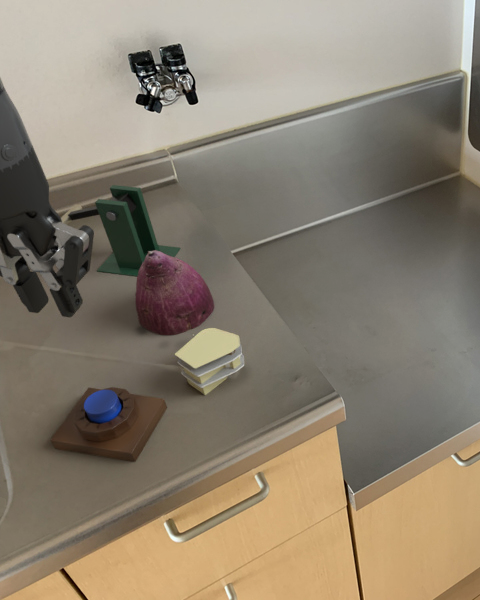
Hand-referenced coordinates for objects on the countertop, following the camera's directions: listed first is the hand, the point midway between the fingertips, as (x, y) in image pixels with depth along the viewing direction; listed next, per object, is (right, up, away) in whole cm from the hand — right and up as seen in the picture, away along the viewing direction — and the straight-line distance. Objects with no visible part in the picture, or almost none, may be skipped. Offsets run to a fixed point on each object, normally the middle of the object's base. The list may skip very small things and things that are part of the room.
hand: (55, 308), depth 60 cm
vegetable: (+2, -1, +28) cm, 28 cm away
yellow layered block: (+10, -9, +19) cm, 24 cm away
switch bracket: (-7, +6, +36) cm, 38 cm away
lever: (-11, +13, +31) cm, 36 cm away
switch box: (0, -14, +13) cm, 19 cm away
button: (0, -12, +11) cm, 16 cm away
